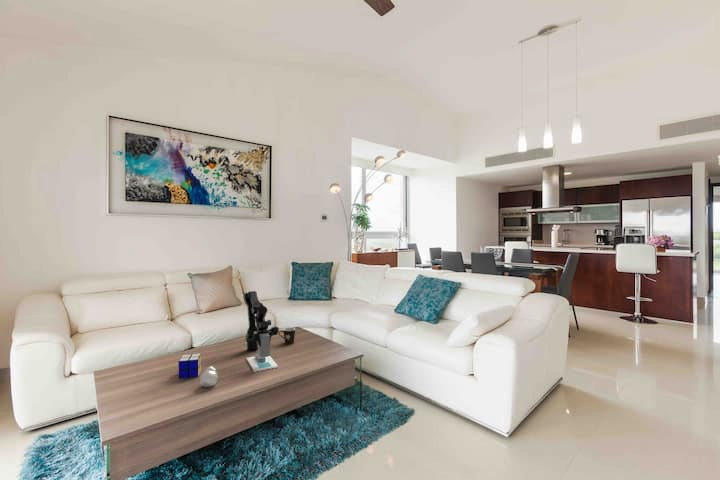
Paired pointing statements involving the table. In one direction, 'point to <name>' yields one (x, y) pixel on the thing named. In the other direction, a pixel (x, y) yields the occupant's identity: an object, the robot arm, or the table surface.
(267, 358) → the baseplate
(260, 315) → the robot arm
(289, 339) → the coffee mug
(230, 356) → the table surface
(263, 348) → the pillar
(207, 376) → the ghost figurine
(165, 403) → the table surface
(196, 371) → the puzzle cube
